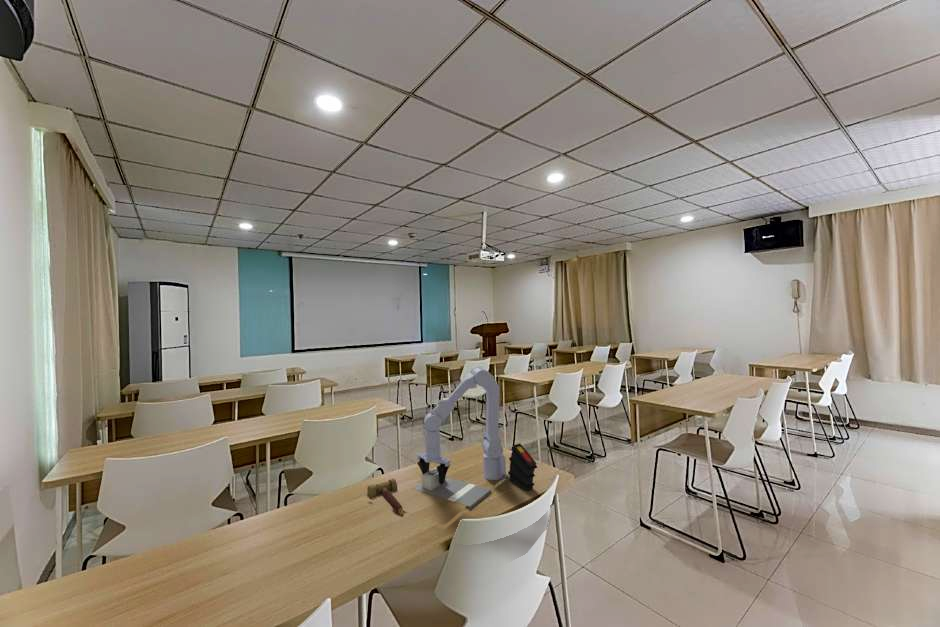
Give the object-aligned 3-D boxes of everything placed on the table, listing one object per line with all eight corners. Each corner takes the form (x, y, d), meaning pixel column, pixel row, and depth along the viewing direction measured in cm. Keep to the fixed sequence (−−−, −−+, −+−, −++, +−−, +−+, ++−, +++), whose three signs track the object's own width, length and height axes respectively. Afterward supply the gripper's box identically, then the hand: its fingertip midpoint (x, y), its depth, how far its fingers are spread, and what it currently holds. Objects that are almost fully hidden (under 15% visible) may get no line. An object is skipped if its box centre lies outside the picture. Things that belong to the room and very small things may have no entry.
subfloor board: (435, 476, 155) (435, 474, 155) (491, 492, 140) (491, 489, 140) (412, 491, 143) (411, 488, 143) (469, 509, 129) (469, 506, 129)
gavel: (416, 502, 129) (387, 511, 123) (416, 515, 129) (388, 525, 124) (392, 476, 146) (367, 483, 141) (392, 487, 147) (367, 495, 141)
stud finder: (437, 478, 151) (436, 466, 151) (445, 480, 149) (445, 468, 149) (422, 487, 144) (421, 474, 144) (431, 490, 141) (430, 477, 141)
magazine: (511, 471, 154) (520, 442, 148) (530, 497, 143) (541, 467, 138) (503, 473, 152) (512, 444, 146) (522, 500, 142) (533, 470, 136)
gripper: (411, 445, 147) (412, 480, 147) (441, 452, 139) (442, 489, 139) (423, 440, 153) (424, 474, 153) (453, 446, 145) (454, 482, 145)
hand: (434, 481), depth 146 cm, fingers open, 7 cm apart
